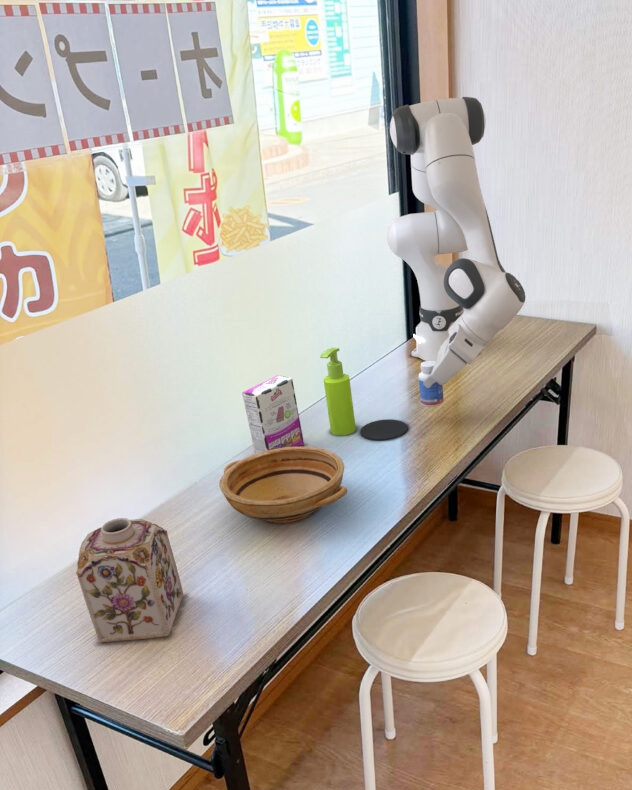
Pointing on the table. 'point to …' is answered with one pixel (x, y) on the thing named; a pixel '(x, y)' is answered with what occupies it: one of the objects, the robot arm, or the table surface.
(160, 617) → the decorative jar
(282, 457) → the ceramic bowl
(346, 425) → the lime green pump bottle
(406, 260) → the robot arm
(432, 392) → the pill bottle
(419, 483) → the table surface
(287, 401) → the candy bar box
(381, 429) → the coaster
